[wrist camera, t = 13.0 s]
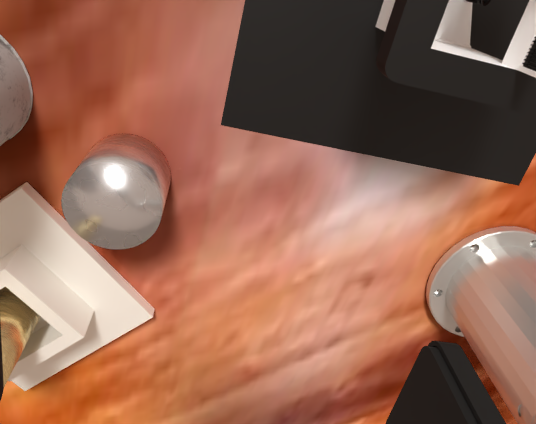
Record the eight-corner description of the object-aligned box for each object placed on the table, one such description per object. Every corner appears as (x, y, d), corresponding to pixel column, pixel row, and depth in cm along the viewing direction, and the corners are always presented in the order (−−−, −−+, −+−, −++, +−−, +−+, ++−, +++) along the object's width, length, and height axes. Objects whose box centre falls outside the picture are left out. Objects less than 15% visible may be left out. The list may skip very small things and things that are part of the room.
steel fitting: (188, 183, 40) (181, 219, 34) (123, 224, 41) (107, 264, 36) (133, 116, 37) (117, 144, 31) (66, 163, 38) (39, 197, 33)
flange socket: (154, 308, 45) (147, 344, 41) (29, 381, 49) (10, 421, 44) (26, 181, 38) (2, 209, 34) (-110, 276, 42) (-147, 311, 37)
